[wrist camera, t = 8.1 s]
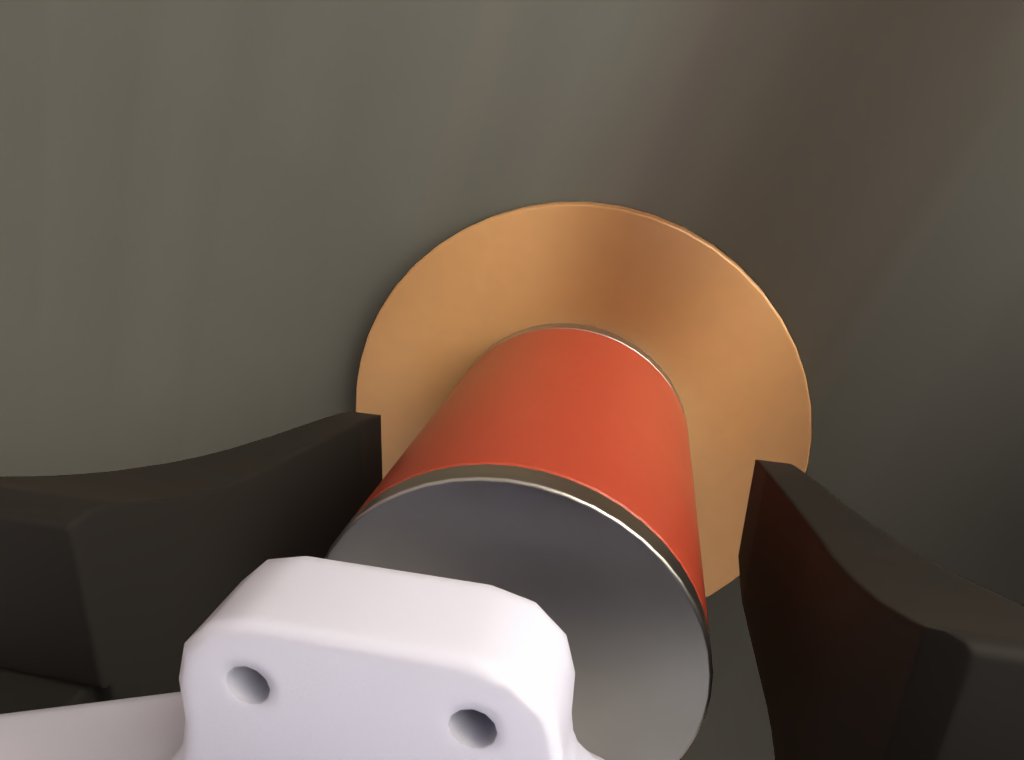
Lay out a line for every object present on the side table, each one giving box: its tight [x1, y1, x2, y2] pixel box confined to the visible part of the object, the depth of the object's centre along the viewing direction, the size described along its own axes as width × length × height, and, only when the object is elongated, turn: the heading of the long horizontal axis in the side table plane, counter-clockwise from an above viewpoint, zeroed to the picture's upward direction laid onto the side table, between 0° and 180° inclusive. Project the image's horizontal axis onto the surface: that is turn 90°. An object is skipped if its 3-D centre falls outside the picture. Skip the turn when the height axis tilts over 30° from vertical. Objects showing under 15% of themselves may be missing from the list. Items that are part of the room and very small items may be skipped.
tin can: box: [324, 323, 713, 760], centre depth 12 cm, size 5×5×7 cm
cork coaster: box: [356, 202, 812, 597], centre depth 15 cm, size 10×10×1 cm
